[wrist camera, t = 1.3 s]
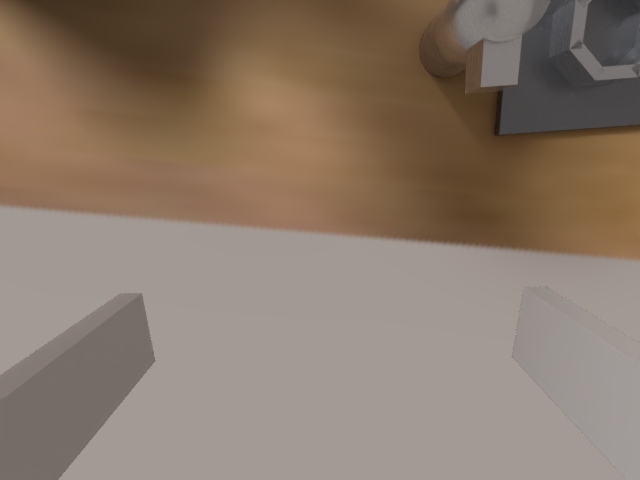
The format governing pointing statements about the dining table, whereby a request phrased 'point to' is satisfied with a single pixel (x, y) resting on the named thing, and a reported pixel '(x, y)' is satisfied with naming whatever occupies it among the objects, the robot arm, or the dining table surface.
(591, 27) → the duct flange
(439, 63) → the elbow
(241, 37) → the dining table surface
